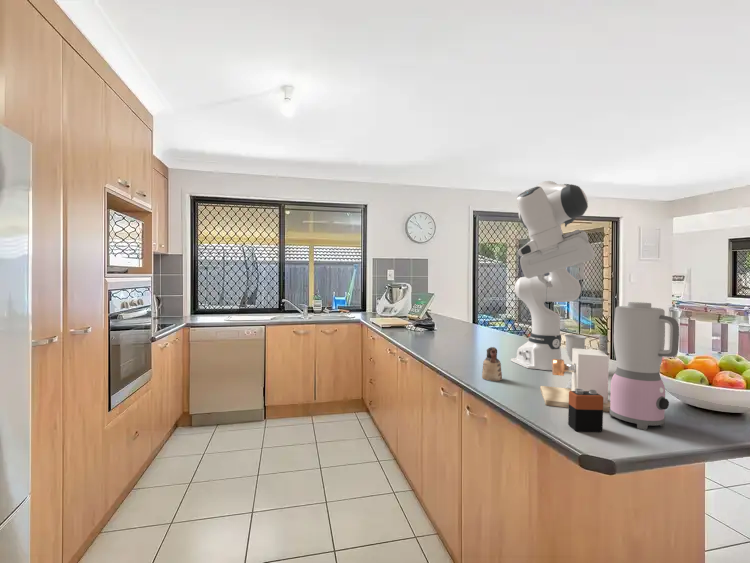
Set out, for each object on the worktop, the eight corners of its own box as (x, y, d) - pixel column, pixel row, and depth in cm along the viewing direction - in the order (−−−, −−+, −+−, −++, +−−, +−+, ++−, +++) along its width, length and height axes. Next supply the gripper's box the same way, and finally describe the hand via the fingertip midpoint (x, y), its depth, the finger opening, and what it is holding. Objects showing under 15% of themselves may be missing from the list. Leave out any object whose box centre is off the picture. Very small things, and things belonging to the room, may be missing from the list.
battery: (567, 425, 100) (568, 387, 100) (593, 425, 100) (594, 387, 100) (575, 432, 96) (576, 392, 96) (603, 432, 96) (604, 392, 95)
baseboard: (545, 405, 115) (545, 400, 115) (540, 390, 131) (540, 385, 131) (614, 412, 110) (614, 407, 110) (600, 396, 125) (600, 391, 125)
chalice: (588, 391, 130) (589, 338, 130) (566, 389, 132) (567, 337, 131) (581, 385, 138) (582, 335, 137) (560, 383, 139) (562, 334, 139)
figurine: (501, 377, 147) (501, 345, 147) (502, 382, 140) (503, 349, 140) (481, 375, 149) (482, 344, 148) (482, 380, 142) (482, 348, 142)
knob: (553, 376, 120) (554, 360, 120) (551, 372, 124) (552, 357, 124) (587, 379, 117) (587, 363, 117) (583, 375, 122) (584, 359, 121)
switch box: (577, 400, 115) (578, 354, 115) (571, 391, 125) (572, 348, 125) (607, 403, 113) (608, 356, 113) (599, 393, 123) (600, 350, 122)
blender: (598, 416, 107) (601, 301, 106) (627, 410, 112) (630, 300, 111) (660, 438, 92) (663, 306, 92) (689, 431, 97) (693, 305, 97)
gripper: (587, 225, 109) (605, 270, 109) (520, 249, 123) (536, 289, 123) (581, 228, 104) (600, 276, 104) (512, 253, 119) (529, 294, 119)
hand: (565, 283), depth 114 cm, fingers open, 8 cm apart
